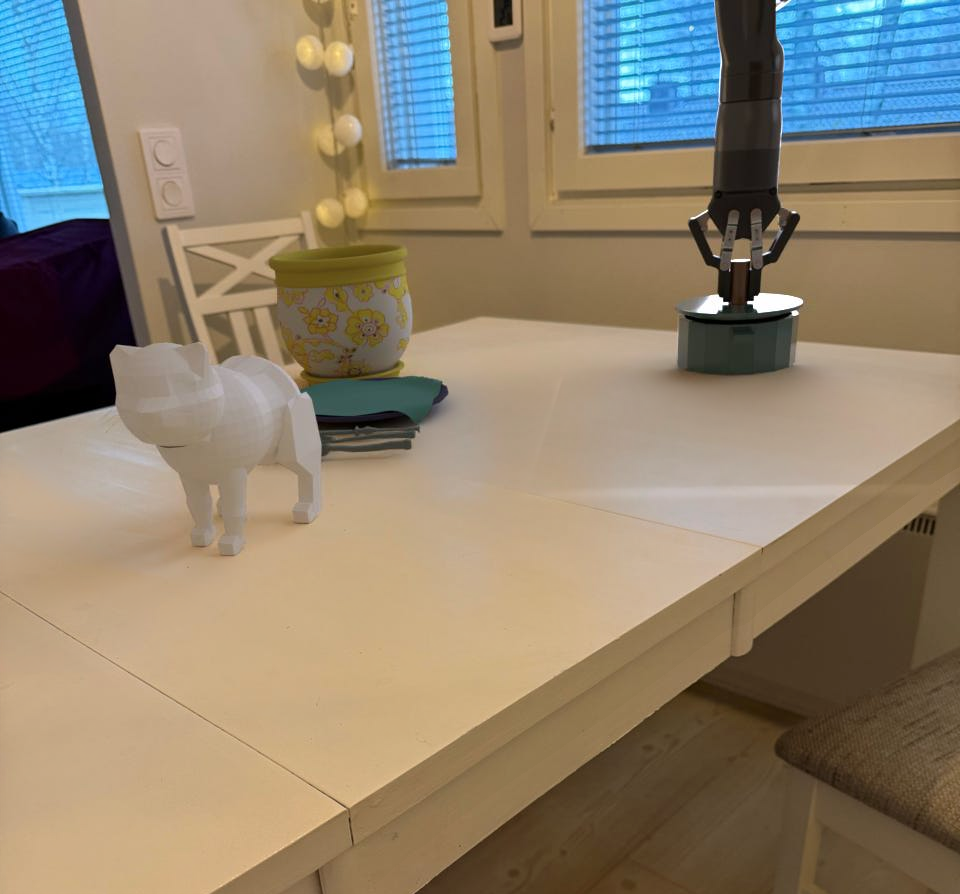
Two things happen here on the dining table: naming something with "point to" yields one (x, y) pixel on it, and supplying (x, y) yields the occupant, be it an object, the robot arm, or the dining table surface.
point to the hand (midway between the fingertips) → (738, 300)
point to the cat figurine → (219, 428)
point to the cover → (739, 300)
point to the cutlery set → (373, 408)
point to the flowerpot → (344, 310)
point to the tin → (736, 344)
